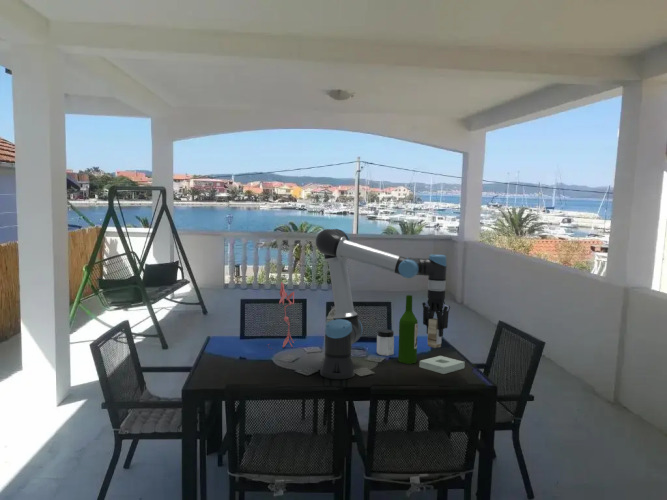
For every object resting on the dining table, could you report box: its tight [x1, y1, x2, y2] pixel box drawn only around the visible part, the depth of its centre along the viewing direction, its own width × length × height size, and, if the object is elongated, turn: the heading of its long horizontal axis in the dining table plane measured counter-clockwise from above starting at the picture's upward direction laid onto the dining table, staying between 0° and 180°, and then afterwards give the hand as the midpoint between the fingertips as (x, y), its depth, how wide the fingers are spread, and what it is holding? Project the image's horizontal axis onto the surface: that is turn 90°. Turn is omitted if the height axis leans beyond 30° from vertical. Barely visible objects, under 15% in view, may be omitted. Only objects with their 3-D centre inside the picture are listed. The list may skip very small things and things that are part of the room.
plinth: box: [418, 355, 466, 375], centre depth 230 cm, size 16×14×3 cm
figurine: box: [267, 281, 296, 350], centre depth 266 cm, size 15×26×35 cm, turn 0°
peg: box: [427, 317, 442, 349], centre depth 214 cm, size 4×4×12 cm
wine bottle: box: [397, 294, 419, 365], centre depth 239 cm, size 9×9×32 cm
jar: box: [376, 328, 395, 357], centre depth 253 cm, size 9×8×12 cm
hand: (434, 342), depth 214 cm, fingers closed on peg, 4 cm apart
